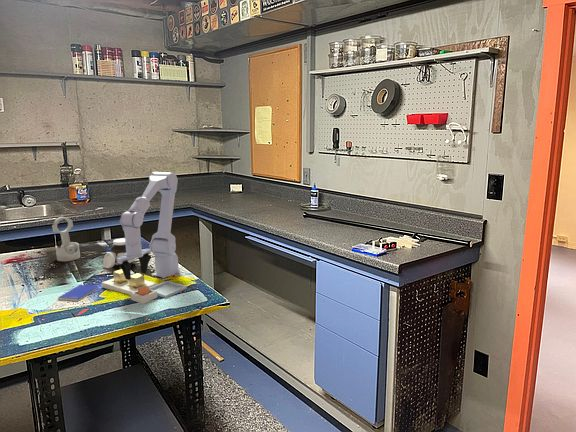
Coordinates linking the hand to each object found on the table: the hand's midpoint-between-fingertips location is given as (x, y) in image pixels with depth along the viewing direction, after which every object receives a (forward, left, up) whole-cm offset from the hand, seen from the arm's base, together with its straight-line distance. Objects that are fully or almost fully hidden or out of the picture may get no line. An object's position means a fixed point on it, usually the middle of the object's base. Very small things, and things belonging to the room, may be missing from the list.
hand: (136, 276), depth 168 cm
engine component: (-9, -60, -6) cm, 61 cm away
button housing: (+5, +10, -6) cm, 13 cm away
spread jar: (-15, -30, -6) cm, 34 cm away
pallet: (0, -4, -6) cm, 7 cm away
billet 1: (0, -9, -6) cm, 11 cm away
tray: (-5, +11, -6) cm, 13 cm away
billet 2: (0, 0, -6) cm, 6 cm away
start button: (+5, +10, -4) cm, 12 cm away
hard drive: (+14, -16, -7) cm, 22 cm away
